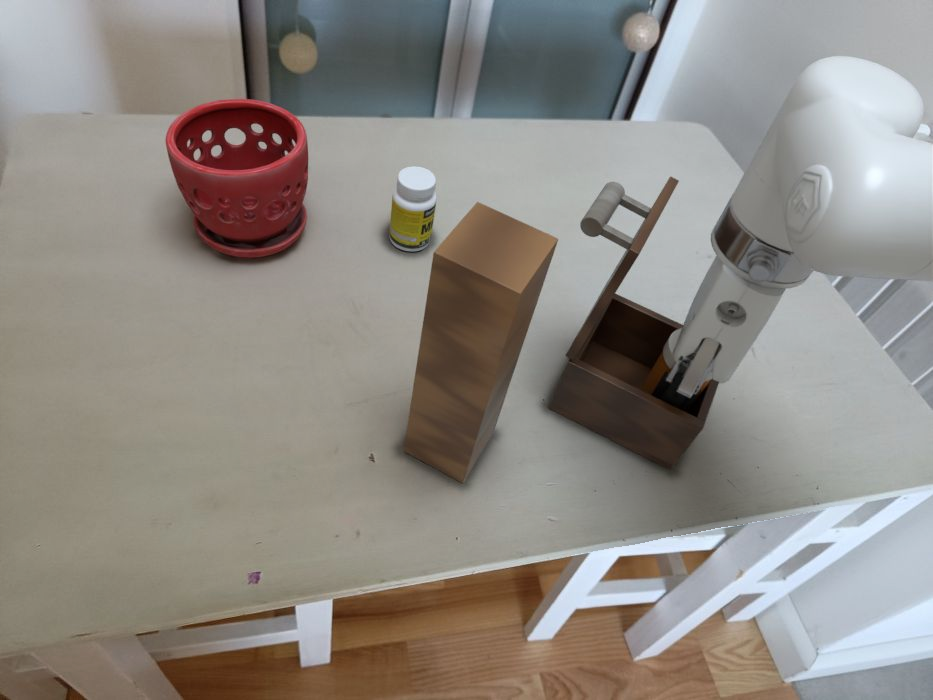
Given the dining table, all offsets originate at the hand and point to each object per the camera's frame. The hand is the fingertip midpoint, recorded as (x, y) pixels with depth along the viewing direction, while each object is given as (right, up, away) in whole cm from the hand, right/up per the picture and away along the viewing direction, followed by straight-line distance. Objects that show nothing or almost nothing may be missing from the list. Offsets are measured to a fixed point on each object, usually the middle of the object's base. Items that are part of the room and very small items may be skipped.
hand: (674, 384), depth 63 cm
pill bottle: (0, -2, +2) cm, 3 cm away
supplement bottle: (-26, +16, +15) cm, 33 cm away
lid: (-6, +10, -5) cm, 13 cm away
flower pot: (-43, +17, +12) cm, 47 cm away
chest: (-3, -2, +5) cm, 6 cm away
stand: (-21, -5, -1) cm, 21 cm away
